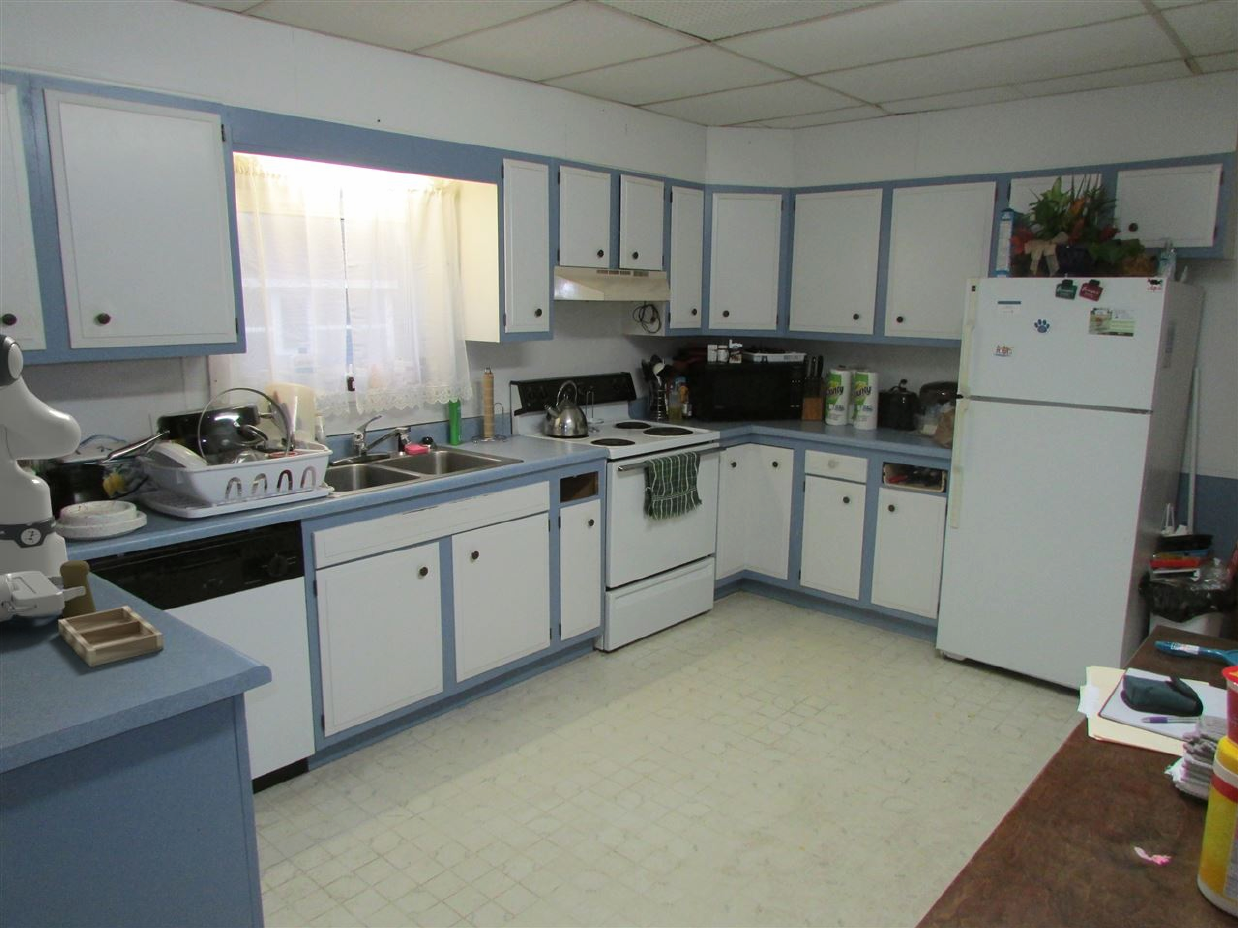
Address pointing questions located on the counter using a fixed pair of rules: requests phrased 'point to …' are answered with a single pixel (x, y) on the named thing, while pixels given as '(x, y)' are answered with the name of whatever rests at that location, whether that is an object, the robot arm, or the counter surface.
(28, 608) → the robot arm
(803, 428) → the counter surface
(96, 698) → the counter surface
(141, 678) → the counter surface
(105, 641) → the caddy
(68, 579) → the cork
